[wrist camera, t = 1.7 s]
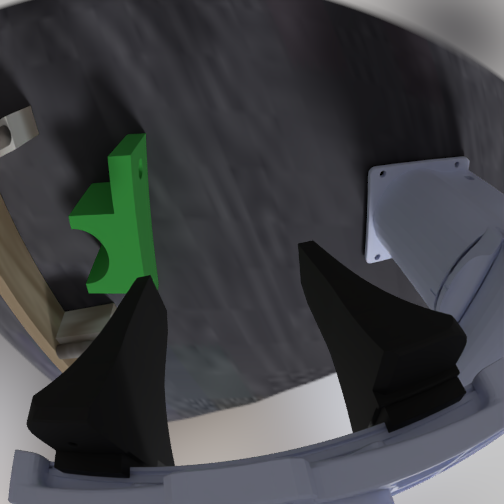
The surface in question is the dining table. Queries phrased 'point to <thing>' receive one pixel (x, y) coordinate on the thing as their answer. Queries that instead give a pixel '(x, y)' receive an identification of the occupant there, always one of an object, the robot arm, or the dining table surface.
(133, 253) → the pipe clamp
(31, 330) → the wooden drawer handle
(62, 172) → the dining table surface
